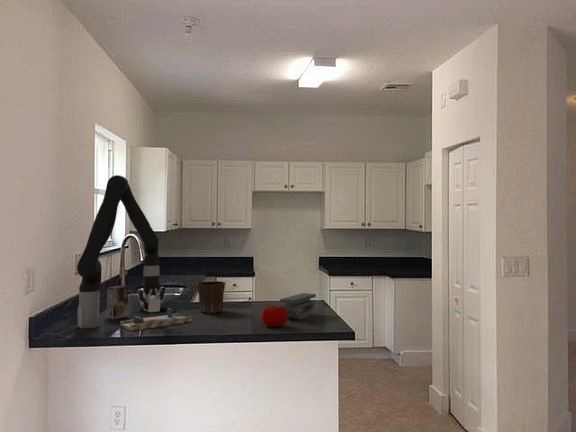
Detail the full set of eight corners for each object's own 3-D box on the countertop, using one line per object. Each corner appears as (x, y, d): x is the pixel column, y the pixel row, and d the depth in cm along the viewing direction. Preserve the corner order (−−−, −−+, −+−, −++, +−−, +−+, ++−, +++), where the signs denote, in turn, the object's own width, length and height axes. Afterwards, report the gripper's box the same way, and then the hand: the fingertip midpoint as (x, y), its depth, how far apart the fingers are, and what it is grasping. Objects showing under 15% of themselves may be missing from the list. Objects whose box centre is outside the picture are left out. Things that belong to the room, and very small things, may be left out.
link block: (150, 312, 251) (150, 299, 252) (143, 310, 257) (143, 297, 257) (159, 310, 255) (159, 298, 255) (153, 309, 260) (153, 296, 260)
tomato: (290, 328, 248) (290, 306, 248) (264, 329, 245) (264, 307, 245) (283, 323, 259) (283, 303, 259) (259, 325, 255) (259, 304, 255)
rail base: (131, 330, 242) (131, 321, 242) (119, 326, 252) (119, 317, 252) (191, 321, 263) (191, 312, 263) (178, 318, 273) (178, 309, 273)
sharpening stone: (303, 312, 289) (303, 293, 289) (315, 314, 285) (315, 294, 285) (280, 320, 267) (280, 299, 267) (293, 321, 263) (293, 300, 263)
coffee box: (121, 315, 281) (121, 285, 281) (128, 316, 277) (128, 286, 277) (106, 317, 274) (106, 287, 274) (113, 319, 270) (113, 288, 270)
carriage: (147, 324, 250) (147, 313, 250) (138, 321, 256) (138, 310, 256) (177, 319, 260) (177, 309, 260) (168, 317, 267) (168, 307, 267)
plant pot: (200, 315, 281) (200, 285, 281) (193, 310, 296) (193, 282, 296) (229, 313, 288) (229, 283, 288) (220, 308, 302) (220, 280, 302)
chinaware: (149, 312, 290) (149, 298, 290) (132, 309, 299) (132, 296, 299) (170, 308, 302) (170, 295, 302) (153, 306, 311) (153, 293, 311)
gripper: (141, 276, 248) (141, 312, 248) (168, 274, 258) (168, 308, 258) (134, 275, 254) (134, 310, 254) (161, 273, 263) (161, 306, 263)
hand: (151, 309), depth 256 cm, fingers closed on link block, 5 cm apart
